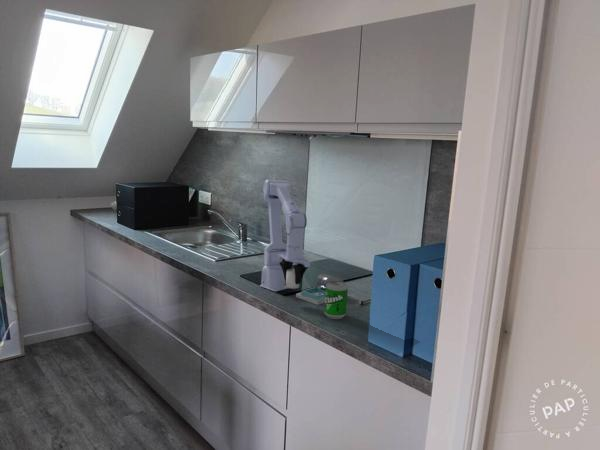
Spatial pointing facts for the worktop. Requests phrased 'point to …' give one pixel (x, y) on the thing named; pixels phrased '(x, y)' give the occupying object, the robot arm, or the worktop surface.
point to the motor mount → (317, 290)
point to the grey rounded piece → (291, 279)
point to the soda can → (335, 299)
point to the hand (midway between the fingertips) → (292, 281)
